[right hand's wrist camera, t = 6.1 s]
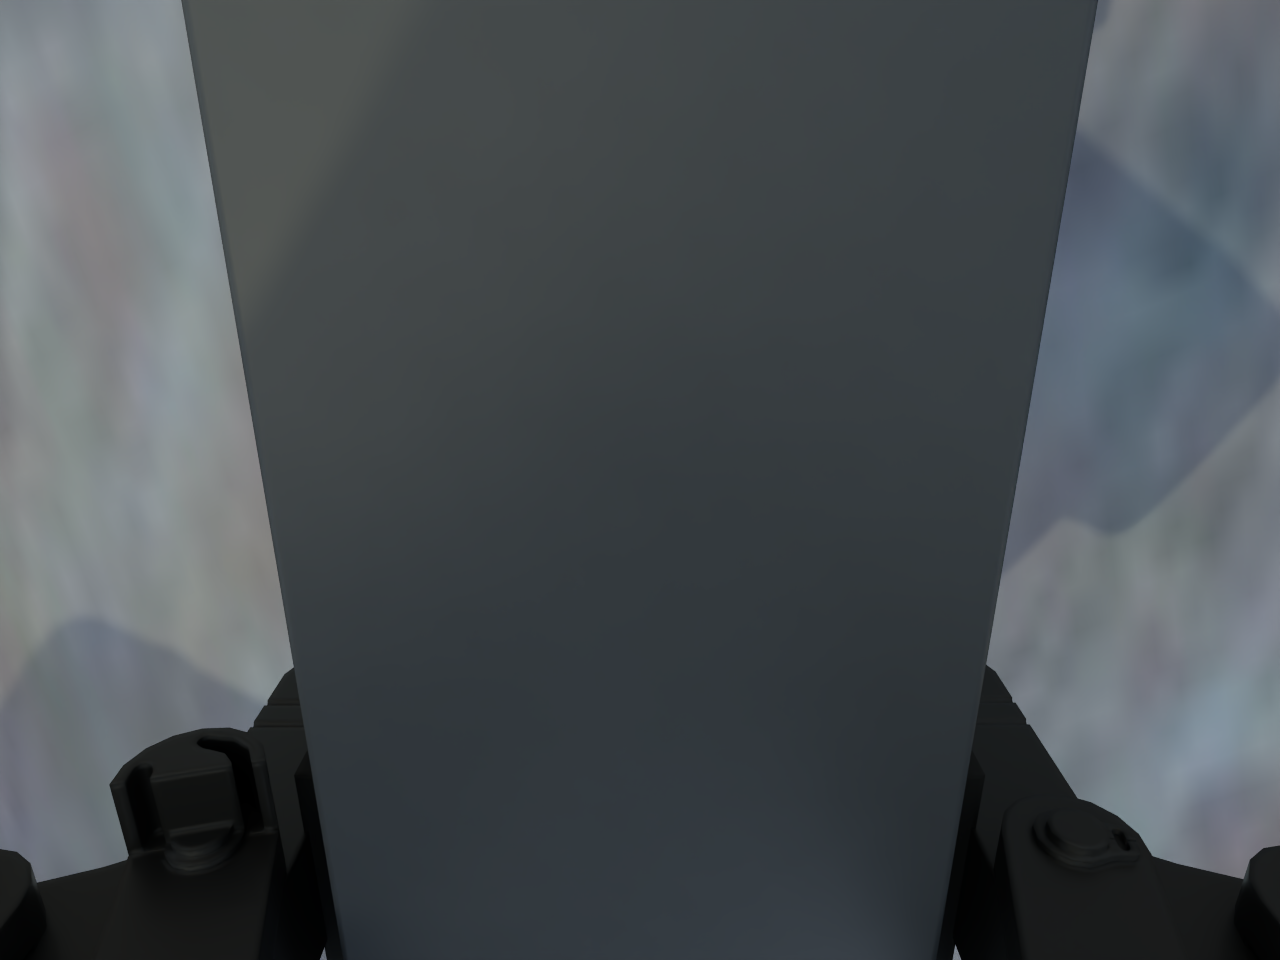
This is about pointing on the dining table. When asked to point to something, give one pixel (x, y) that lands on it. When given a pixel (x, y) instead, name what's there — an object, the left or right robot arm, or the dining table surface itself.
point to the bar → (639, 445)
